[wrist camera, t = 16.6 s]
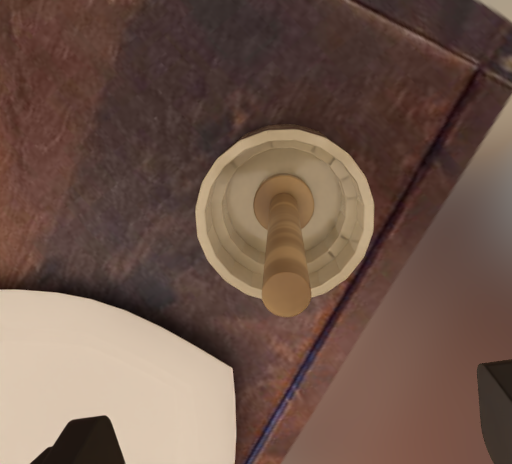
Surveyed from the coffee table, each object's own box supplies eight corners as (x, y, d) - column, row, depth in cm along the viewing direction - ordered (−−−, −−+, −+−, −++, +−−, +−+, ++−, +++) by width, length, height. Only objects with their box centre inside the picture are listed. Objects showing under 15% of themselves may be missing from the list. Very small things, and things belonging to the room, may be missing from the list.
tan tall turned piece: (275, 161, 30) (271, 220, 16) (325, 194, 30) (365, 282, 16) (242, 210, 31) (210, 307, 17) (291, 241, 31) (300, 363, 17)
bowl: (263, 92, 29) (259, 91, 24) (389, 180, 30) (411, 197, 25) (182, 218, 32) (163, 242, 27) (301, 294, 33) (305, 331, 28)
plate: (-90, 513, 41) (-107, 533, 39) (-76, 242, 34) (-97, 250, 32) (196, 584, 42) (192, 608, 40) (275, 334, 34) (274, 348, 32)
